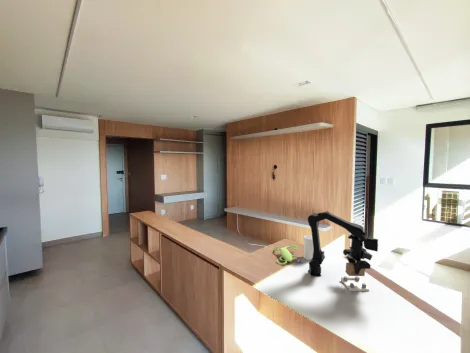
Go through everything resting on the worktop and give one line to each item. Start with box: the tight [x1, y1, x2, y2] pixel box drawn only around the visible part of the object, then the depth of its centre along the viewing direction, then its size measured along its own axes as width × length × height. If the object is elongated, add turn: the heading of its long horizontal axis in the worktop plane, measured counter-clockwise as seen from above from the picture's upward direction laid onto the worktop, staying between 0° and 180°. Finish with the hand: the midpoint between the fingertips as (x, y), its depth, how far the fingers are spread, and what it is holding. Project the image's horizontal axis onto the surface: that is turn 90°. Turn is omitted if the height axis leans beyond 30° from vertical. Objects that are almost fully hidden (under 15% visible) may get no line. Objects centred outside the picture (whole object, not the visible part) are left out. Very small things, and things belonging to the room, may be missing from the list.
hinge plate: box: [340, 276, 370, 292], centre depth 128 cm, size 11×10×3 cm
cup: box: [302, 234, 314, 261], centre depth 162 cm, size 8×8×16 cm
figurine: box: [273, 244, 302, 266], centre depth 164 cm, size 18×27×6 cm
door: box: [345, 262, 366, 277], centre depth 127 cm, size 10×4×6 cm, turn 90°
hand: (354, 272), depth 127 cm, fingers closed on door, 4 cm apart
